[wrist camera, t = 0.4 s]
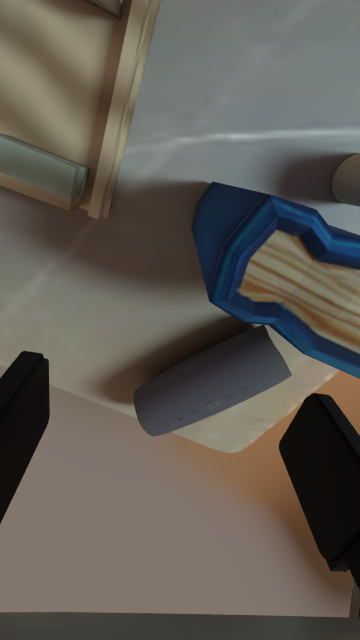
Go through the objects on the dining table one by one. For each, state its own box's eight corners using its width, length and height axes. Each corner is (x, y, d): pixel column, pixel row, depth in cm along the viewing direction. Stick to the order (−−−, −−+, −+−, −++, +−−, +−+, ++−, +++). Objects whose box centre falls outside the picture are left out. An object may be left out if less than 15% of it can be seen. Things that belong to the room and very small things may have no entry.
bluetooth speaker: (164, 403, 51) (163, 452, 42) (135, 371, 47) (127, 417, 38) (276, 350, 46) (301, 392, 37) (254, 308, 42) (276, 345, 33)
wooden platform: (-143, -250, 19) (-265, -415, 13) (173, -54, 24) (174, -118, 18) (-104, 136, 29) (-164, 129, 24) (107, 217, 34) (96, 226, 29)
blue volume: (179, 227, 35) (196, 321, 13) (204, 170, 32) (277, 175, 10) (311, 289, 40) (478, 430, 18) (343, 245, 37) (589, 354, 15)
